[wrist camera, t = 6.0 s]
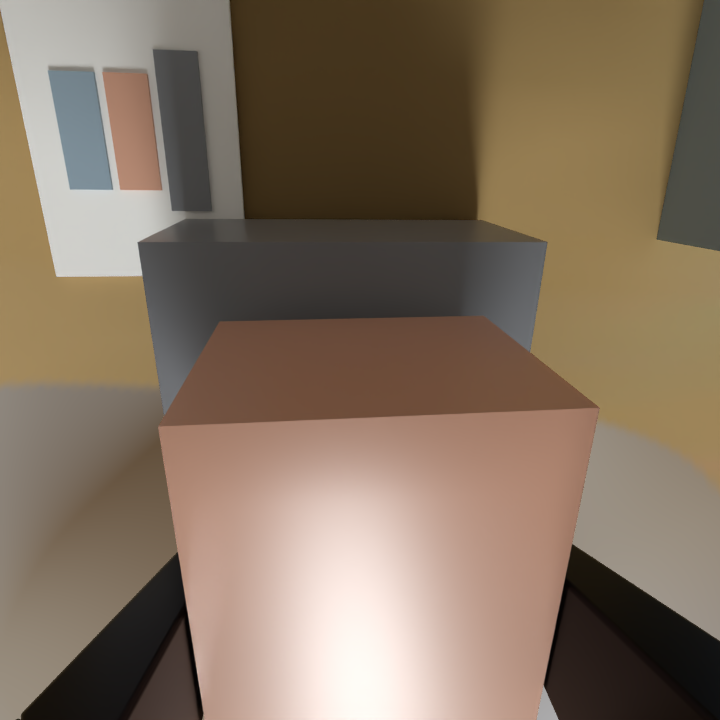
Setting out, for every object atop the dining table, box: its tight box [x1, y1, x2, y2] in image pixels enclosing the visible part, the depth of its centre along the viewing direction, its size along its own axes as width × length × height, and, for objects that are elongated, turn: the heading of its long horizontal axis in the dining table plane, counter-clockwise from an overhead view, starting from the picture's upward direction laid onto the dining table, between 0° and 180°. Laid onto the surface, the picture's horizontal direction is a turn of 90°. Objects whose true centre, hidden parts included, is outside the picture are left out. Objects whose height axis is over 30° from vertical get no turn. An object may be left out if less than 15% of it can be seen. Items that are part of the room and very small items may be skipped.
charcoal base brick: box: [137, 219, 547, 416], centre depth 13 cm, size 8×10×4 cm
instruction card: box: [0, 0, 245, 277], centre depth 12 cm, size 5×7×1 cm
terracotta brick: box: [158, 316, 600, 720], centre depth 9 cm, size 5×7×4 cm
